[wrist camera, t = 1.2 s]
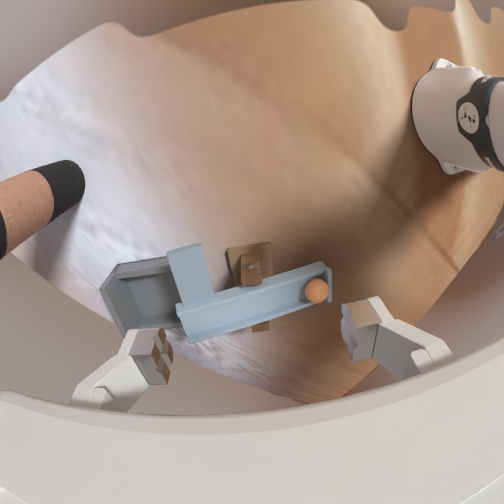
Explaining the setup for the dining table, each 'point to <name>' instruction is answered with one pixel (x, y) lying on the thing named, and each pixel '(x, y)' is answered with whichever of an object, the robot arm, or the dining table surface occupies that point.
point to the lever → (236, 295)
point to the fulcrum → (251, 269)
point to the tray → (142, 295)
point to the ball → (316, 290)
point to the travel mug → (36, 200)
